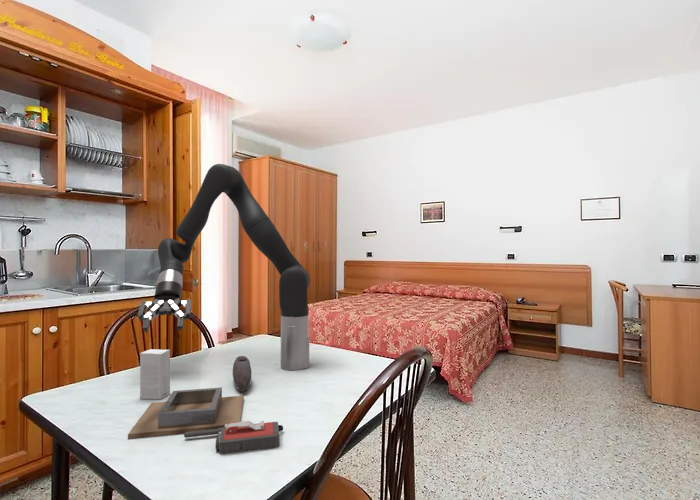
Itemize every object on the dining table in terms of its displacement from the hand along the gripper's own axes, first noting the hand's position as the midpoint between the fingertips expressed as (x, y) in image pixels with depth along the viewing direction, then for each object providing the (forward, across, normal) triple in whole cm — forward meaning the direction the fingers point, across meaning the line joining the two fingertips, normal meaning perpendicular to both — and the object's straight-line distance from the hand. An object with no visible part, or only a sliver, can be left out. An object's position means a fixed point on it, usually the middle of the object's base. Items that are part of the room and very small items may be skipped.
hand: (162, 330), depth 109 cm
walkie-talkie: (+40, +20, -18) cm, 48 cm away
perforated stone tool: (+18, +22, +4) cm, 29 cm away
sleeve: (+30, +11, -8) cm, 32 cm away
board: (+30, +11, -8) cm, 32 cm away
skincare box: (+18, 0, +4) cm, 19 cm away
